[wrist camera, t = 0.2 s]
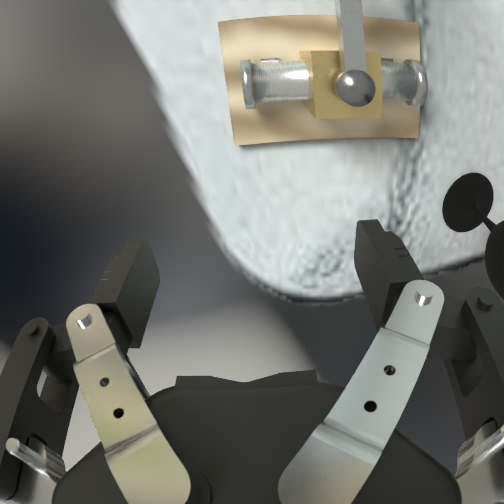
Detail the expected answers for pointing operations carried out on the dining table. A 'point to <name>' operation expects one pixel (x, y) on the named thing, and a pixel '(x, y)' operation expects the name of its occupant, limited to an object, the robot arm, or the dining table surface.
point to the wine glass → (477, 220)
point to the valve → (330, 83)
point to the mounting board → (287, 48)
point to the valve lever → (352, 56)
